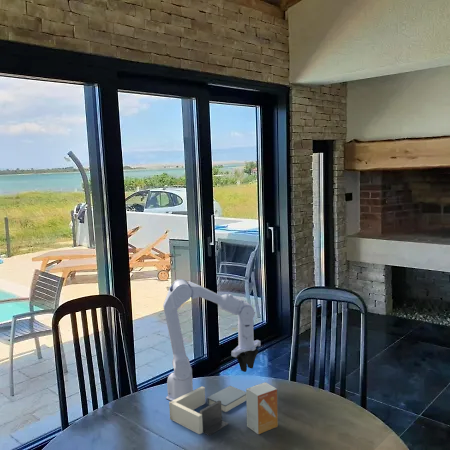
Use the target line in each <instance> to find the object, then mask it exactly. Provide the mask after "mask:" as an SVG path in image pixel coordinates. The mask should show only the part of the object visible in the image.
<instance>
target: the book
mask: <svg viewBox="0 0 450 450" xmlns="http://www.w3.org/2000/svg"><path fill="white" fill-rule="evenodd" d="M206 399H207V400H206V401H207V402H206V403H207V406H209V405H211V404H213V403H215V402H217V401H221V411H222V412H225V413H227V412H229V411H231V410H233V409H234V408H236V407H237V406H239V405H241V404H242V403H244V402H247V401H246V390H245V391H244V390H242V389H240V388H237V387H234V386H232V385H229V386H226V387H225V388H223V389H220V390H219V391H217V392H215V393H213V394H210V395H209V396H207V397H206Z"/></svg>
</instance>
